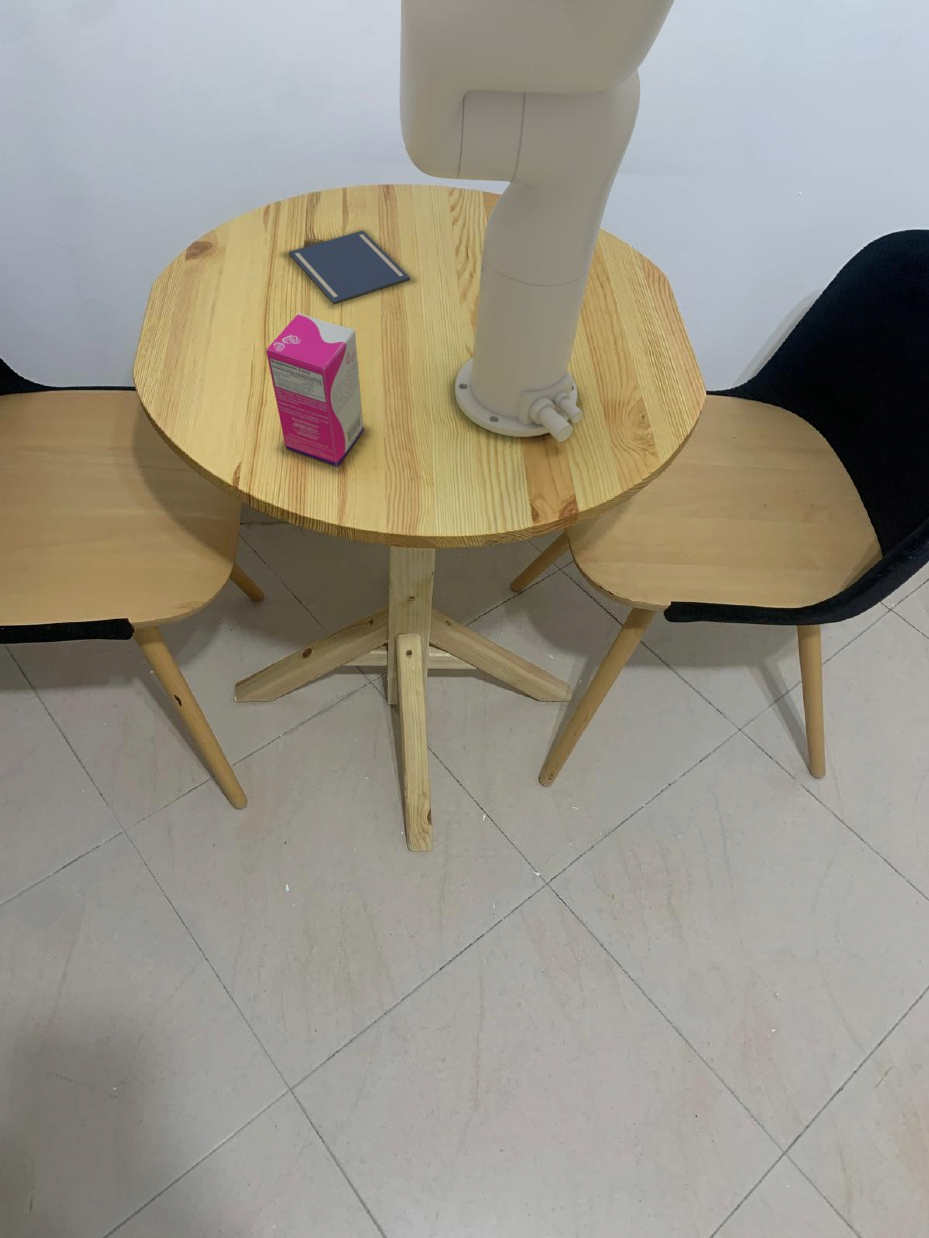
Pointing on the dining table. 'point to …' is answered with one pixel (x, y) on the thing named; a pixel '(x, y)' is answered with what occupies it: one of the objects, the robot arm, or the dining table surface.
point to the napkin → (348, 266)
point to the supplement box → (317, 388)
